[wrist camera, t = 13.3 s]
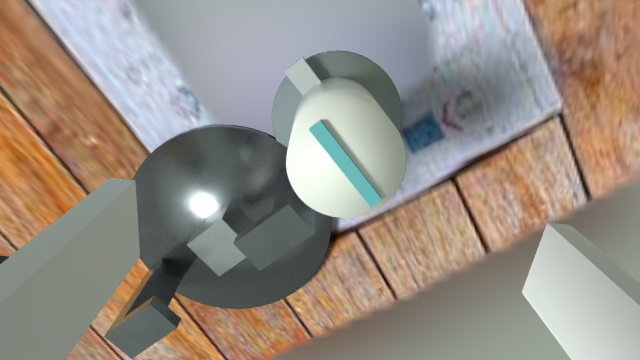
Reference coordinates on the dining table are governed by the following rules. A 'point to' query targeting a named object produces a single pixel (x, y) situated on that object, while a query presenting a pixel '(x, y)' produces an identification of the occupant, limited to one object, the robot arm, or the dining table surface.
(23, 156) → the dining table surface
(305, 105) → the white teal-striped cylinder
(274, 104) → the coaster
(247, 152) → the grey hook stand
